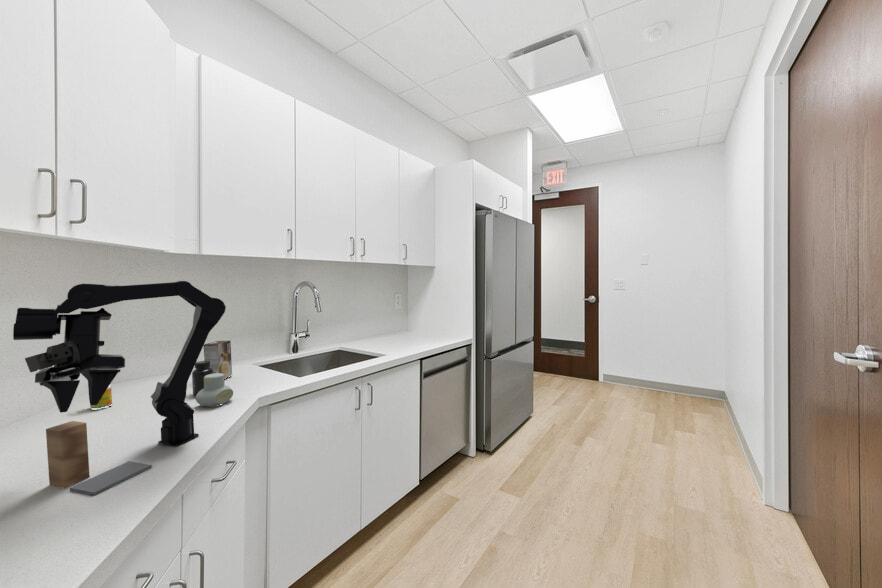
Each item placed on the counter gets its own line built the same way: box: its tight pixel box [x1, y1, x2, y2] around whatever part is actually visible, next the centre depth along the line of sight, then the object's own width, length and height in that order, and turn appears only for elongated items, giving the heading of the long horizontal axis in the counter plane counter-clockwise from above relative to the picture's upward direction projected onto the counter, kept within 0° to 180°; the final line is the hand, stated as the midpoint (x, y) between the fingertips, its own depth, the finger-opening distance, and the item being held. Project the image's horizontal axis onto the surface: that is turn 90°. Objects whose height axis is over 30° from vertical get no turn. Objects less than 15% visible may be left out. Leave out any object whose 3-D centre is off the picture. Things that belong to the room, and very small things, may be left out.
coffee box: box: [203, 340, 233, 380], centre depth 155 cm, size 9×6×16 cm
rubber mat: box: [69, 460, 152, 496], centre depth 78 cm, size 11×7×1 cm, turn 165°
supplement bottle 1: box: [89, 384, 113, 409], centre depth 122 cm, size 5×5×10 cm
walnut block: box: [45, 420, 90, 489], centre depth 77 cm, size 4×4×12 cm
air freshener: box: [195, 373, 234, 407], centre depth 124 cm, size 11×8×10 cm
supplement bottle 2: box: [191, 360, 214, 397], centre depth 136 cm, size 7×7×12 cm
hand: (78, 408), depth 79 cm, fingers open, 9 cm apart
